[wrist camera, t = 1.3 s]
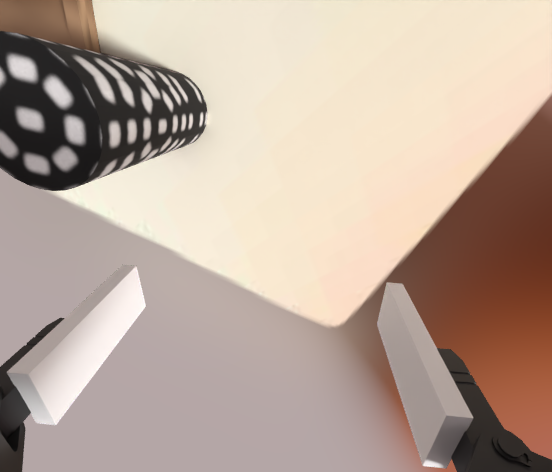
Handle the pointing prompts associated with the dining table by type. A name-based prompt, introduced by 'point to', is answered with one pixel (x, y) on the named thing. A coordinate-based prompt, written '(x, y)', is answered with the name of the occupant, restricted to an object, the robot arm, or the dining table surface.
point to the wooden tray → (52, 21)
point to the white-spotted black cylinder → (87, 112)
